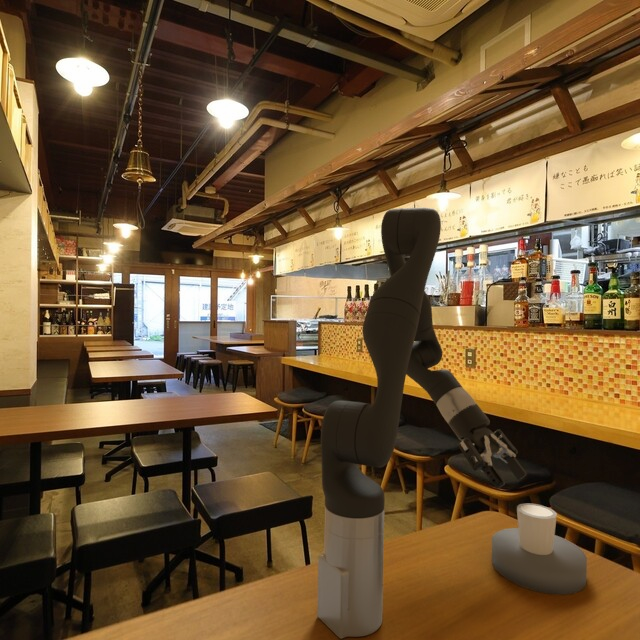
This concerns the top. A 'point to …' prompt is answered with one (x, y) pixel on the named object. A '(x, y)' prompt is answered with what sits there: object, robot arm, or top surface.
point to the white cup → (536, 528)
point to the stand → (540, 564)
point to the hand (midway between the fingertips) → (512, 481)
